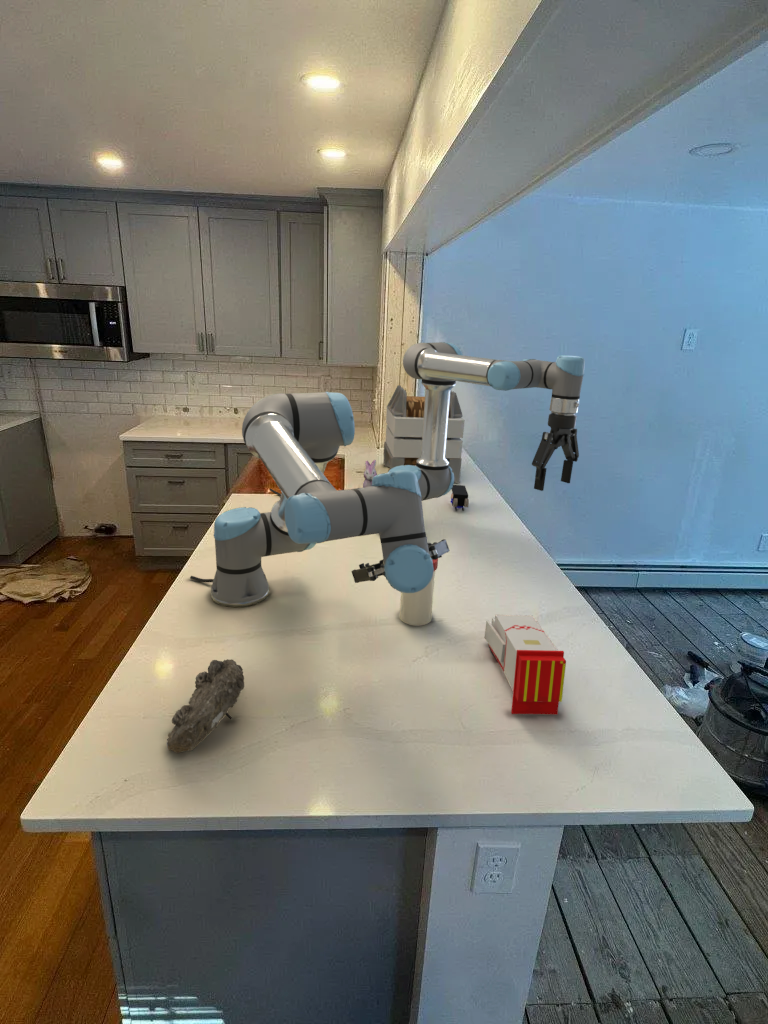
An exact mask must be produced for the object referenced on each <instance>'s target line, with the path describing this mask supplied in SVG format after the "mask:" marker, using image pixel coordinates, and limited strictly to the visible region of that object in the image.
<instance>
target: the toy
mask: <svg viewBox="0 0 768 1024" xmlns="http://www.w3.org/2000/svg"><path fill="white" fill-rule="evenodd" d="M494 615H495V616H494V617H491V622H490V620H485V621H486V622H485V630H484V640H485V641H486V642H487V646H488V647H489V649H490V651H491V652H492V654H493V656H494V657H495V659H496V661H497V663H498V665H499V667H500V668H501V670H502V671H503V674H504V676H505V678H506V680H507V682H508V684H509V686H510V689H511V690H512V701H511V712H510V713H511V714H512V715H556V716H558V715H559V714H558V713H559V705H560V703H562V702H563V695H564V694H563V693H564V686H565V685H564V683H565V677H566V676H565V675H566V667H567V666H566V665H567V660H566V658H564V656H565V651H564V650H559V649H558V648H557V646H556V645H555V644H554V642H553V641H552V640H551V638H550V637H549V636H548V634H547V633H546V631H544V629H543V628H542V626H541V625H540V623H539V622H538V620H536V618H535V617H534V615H531V614H530V615H527V614H526V615H523V614H519V615H518V614H494Z"/></svg>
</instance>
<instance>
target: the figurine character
mask: <svg viewBox="0 0 768 1024" xmlns="http://www.w3.org/2000/svg"><path fill="white" fill-rule="evenodd" d="M449 502H450V504H451V506H452V507H453V508H454V511H456V512H457V511H458V509H461V511H462V512H464V511H465V508H469V505H470V500H469V492H468V490H467V488H466V485H464V484H463V485H461V484H453V487H452V489H451V494H450V501H449Z"/></svg>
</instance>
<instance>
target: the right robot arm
mask: <svg viewBox="0 0 768 1024" xmlns="http://www.w3.org/2000/svg"><path fill="white" fill-rule="evenodd" d="M585 365H586V360H585V358H584V357H582V356H578V355H566V354H565V355H564V354H563V355H558V356H557V357H556V360H555V361H549V360H541V359H536V358H524V359H521V360H506V359H505V360H504V359H503V360H502V359H496V358H487V357H479V356H471V355H464V354H463V352H462V350H461V349H460V347H459V346H457V345H456V344H455V343H451V342H445V341H443V342H442V341H441V342H440V341H439V342H438V341H437V342H417V343H414V344H412V345H411V346H409V347H408V348H407V350H406V351H405V353H404V355H403V358H402V366H403V369H404V372H405V373H406V374H407V375H408V376H409V377H411V378H412V379H415V380H421V385H422V386H423V387H424V389H425V392H424V397H425V404H424V419H423V434H422V449H421V457H420V458H418V459H417V461H416V466H413V465H401V466H396V467H394V468H392V469H390V468H389V470H388V472H395V471H412V472H414V473H415V474H416V476H417V480H418V483H419V488H420V492H421V497H422V499H421V500H422V502H423V501H427V500H431V499H437V498H440V497H443V496H446V495H448V493H450V492H451V491H452V487H453V485H455V483H454V473H452V469H451V467H450V466H449V462H448V461H447V459H446V458H445V453H446V441H447V428H448V416H449V404H450V392H451V391H452V389H453V388H454V387H455V386H456V384H457V382H461V383H465V384H473V385H479V386H487V387H491V388H492V389H494V390H496V391H503V392H504V391H511V390H520V389H532V388H533V389H534V388H539V389H546V390H551V398H550V404H549V413H548V418H547V419H548V420H547V426H548V427H549V428H550V431H549V432H548V431H543V432H542V435H541V440H540V442H539V445H538V447H537V449H536V452H535V454H534V457H533V460H532V461H531V466H533V467H535V475H534V477H535V478H534V485H533V489H534V490H537V491H539V492H543V491H544V489H545V484H546V483H545V482H546V476H547V468H546V466H547V465H548V463H549V461H550V459H551V457H552V456H553V454H554V453H555V451H556V450H557V449H558V448H560V447H561V449H562V452H563V455H564V458H565V459H563V463H562V468H561V469H562V470H561V475H560V482H562V483H566V484H571V478H572V472H573V466H574V463H576V462H578V461H579V457H580V453H579V444H578V428H576V423H577V419H578V416H577V414H578V412H579V411H578V410H579V406H580V397H581V391H582V385H583V380H584V376H585ZM269 491H270V492H271V493H273V494H275V495H276V496H279V497H281V493H280V492H278V491H276V490H274V489H273V488H269Z"/></svg>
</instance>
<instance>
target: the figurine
mask: <svg viewBox="0 0 768 1024" xmlns="http://www.w3.org/2000/svg"><path fill="white" fill-rule="evenodd" d="M364 462H365V463H364V465H365V470H364V472H363V477H364V481H363V482H362V488H364V487H371V486H372V479H373V477H374V476H376V475H378V473H377V470H376V465H377V460H376V459H373V460H372V462H371V463H370V462H369V460H365V461H364Z"/></svg>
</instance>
